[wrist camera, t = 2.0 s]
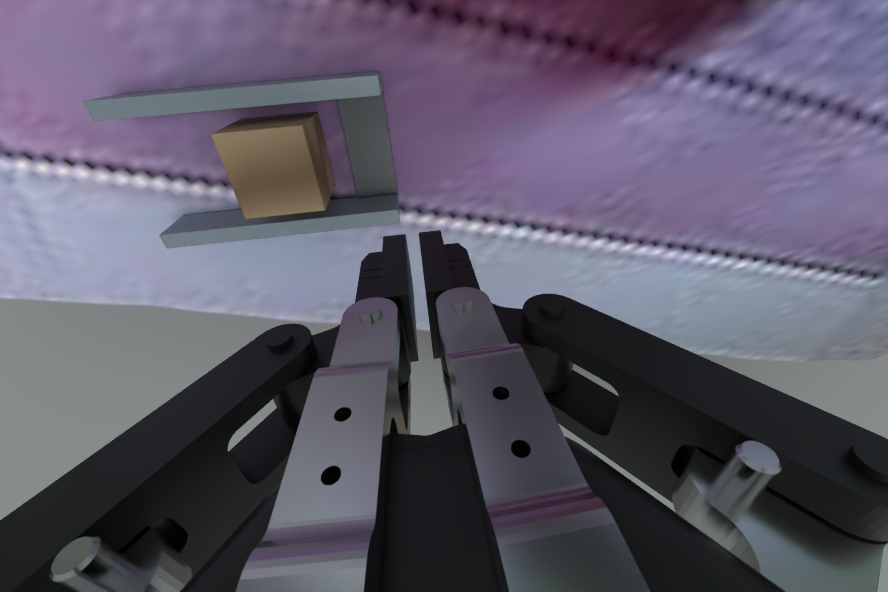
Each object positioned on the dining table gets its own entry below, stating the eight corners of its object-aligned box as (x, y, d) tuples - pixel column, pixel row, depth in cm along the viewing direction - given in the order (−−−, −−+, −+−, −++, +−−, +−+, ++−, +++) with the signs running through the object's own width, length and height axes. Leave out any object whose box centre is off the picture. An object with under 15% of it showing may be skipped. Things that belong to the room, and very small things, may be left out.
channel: (122, 93, 23) (82, 101, 20) (379, 71, 23) (377, 75, 21) (189, 227, 28) (166, 248, 25) (399, 205, 29) (399, 223, 26)
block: (241, 118, 24) (210, 134, 20) (317, 111, 25) (302, 125, 20) (268, 192, 27) (245, 218, 23) (335, 185, 27) (325, 210, 23)
